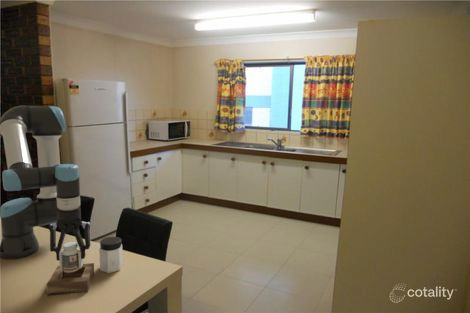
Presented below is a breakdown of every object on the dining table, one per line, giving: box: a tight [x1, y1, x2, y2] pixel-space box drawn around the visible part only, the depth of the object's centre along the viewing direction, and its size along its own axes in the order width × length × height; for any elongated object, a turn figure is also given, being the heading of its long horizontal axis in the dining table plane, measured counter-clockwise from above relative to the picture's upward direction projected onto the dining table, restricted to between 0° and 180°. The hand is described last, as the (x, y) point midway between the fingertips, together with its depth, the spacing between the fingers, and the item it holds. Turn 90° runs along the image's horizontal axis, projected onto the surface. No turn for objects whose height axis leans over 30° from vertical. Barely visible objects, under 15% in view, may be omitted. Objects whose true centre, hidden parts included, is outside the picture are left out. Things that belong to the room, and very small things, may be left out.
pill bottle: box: [62, 241, 80, 273], centre depth 120 cm, size 6×6×10 cm
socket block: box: [46, 262, 95, 297], centre depth 121 cm, size 13×13×4 cm
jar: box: [98, 236, 124, 274], centre depth 133 cm, size 9×8×12 cm
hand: (71, 267), depth 120 cm, fingers closed on pill bottle, 6 cm apart
